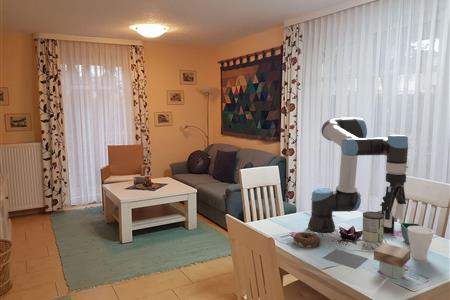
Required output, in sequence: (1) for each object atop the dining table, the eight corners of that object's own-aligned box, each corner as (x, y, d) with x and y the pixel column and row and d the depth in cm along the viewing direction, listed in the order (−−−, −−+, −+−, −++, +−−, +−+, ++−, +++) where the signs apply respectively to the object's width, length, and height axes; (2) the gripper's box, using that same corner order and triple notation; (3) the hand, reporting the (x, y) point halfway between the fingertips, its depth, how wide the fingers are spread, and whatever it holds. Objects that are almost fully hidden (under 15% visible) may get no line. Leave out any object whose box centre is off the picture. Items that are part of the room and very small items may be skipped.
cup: (431, 264, 151) (433, 235, 150) (405, 259, 157) (406, 231, 155) (432, 255, 160) (433, 228, 158) (406, 251, 166) (408, 224, 164)
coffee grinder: (395, 233, 188) (397, 202, 186) (374, 232, 190) (375, 201, 188) (387, 224, 204) (389, 195, 201) (368, 223, 206) (369, 194, 204)
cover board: (373, 259, 144) (374, 250, 143) (383, 251, 151) (383, 242, 151) (401, 267, 136) (402, 258, 135) (410, 258, 144) (410, 249, 143)
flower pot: (423, 246, 171) (424, 229, 170) (404, 245, 173) (405, 228, 172) (417, 239, 179) (418, 223, 178) (399, 238, 181) (400, 222, 180)
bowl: (376, 272, 144) (377, 259, 143) (384, 265, 151) (384, 252, 150) (399, 280, 138) (399, 266, 137) (406, 272, 144) (407, 258, 144)
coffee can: (361, 235, 187) (362, 210, 185) (381, 237, 183) (383, 212, 182) (362, 242, 177) (363, 216, 175) (384, 244, 174) (385, 218, 172)
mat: (322, 259, 158) (322, 258, 158) (336, 250, 168) (336, 248, 168) (355, 270, 147) (355, 268, 147) (368, 259, 157) (368, 258, 157)
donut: (288, 244, 176) (288, 235, 175) (302, 237, 186) (302, 228, 185) (312, 252, 166) (312, 242, 165) (326, 244, 176) (326, 235, 175)
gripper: (395, 178, 128) (392, 232, 130) (415, 169, 145) (412, 217, 148) (374, 176, 133) (372, 228, 136) (396, 167, 151) (394, 213, 153)
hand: (393, 222), depth 142 cm, fingers open, 13 cm apart
